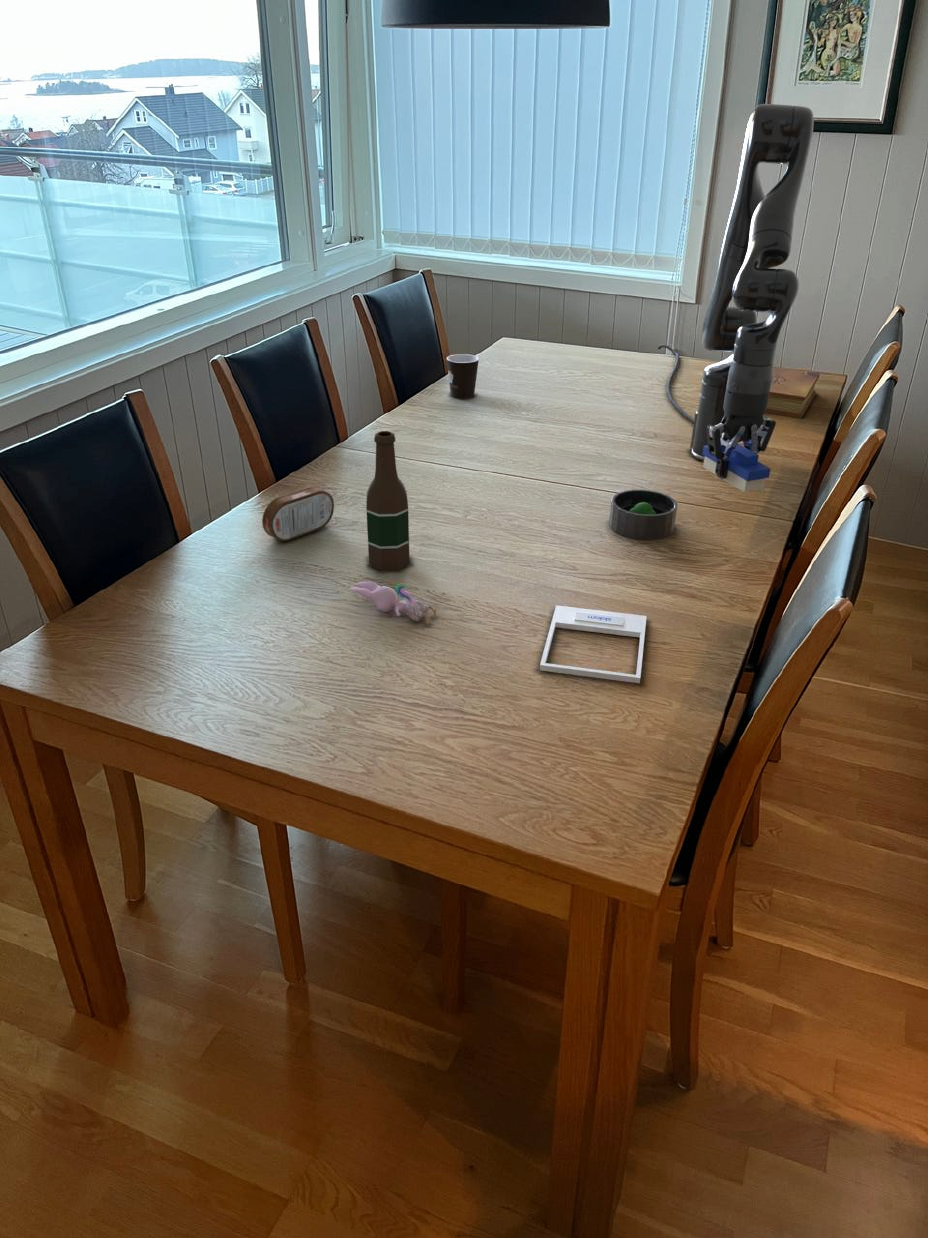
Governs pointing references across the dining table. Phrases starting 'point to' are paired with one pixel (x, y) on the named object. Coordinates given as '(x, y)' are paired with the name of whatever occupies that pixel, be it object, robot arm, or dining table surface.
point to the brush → (741, 468)
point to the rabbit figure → (393, 600)
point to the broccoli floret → (643, 509)
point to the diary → (791, 392)
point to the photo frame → (601, 624)
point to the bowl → (643, 515)
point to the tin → (298, 513)
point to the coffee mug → (462, 375)
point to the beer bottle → (387, 510)
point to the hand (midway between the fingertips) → (733, 474)
